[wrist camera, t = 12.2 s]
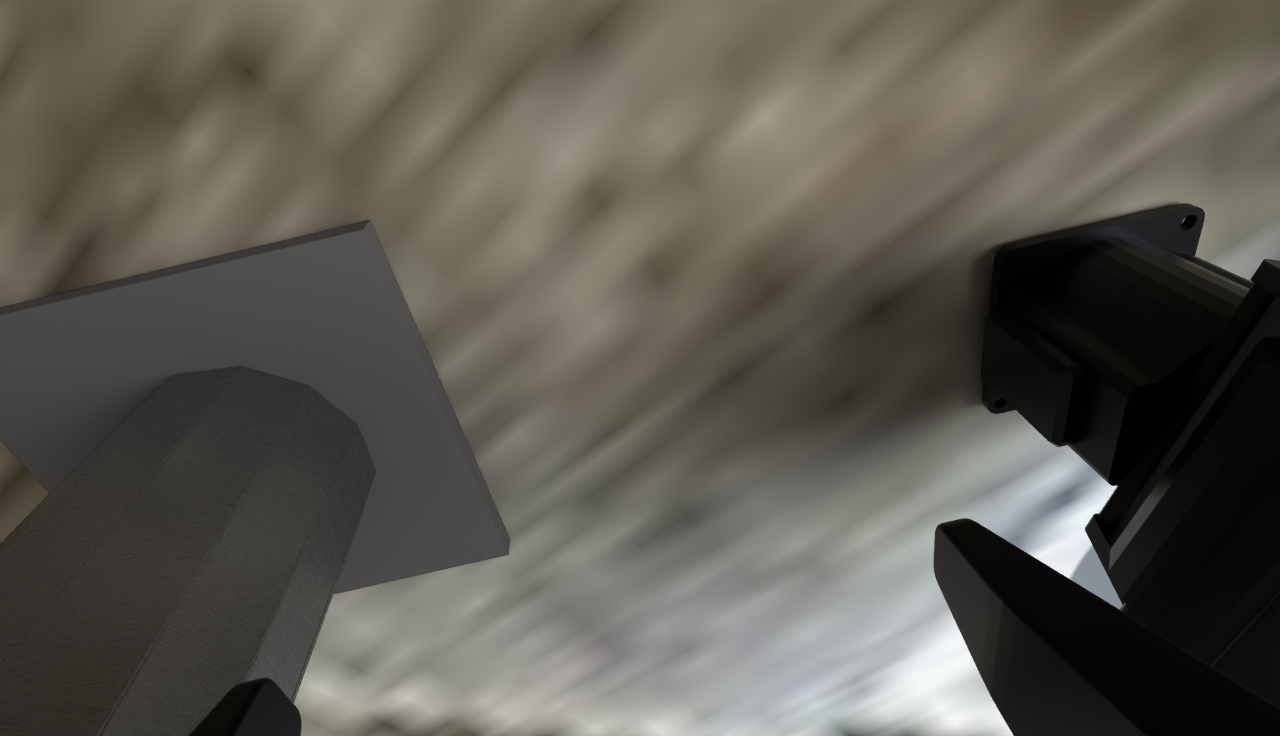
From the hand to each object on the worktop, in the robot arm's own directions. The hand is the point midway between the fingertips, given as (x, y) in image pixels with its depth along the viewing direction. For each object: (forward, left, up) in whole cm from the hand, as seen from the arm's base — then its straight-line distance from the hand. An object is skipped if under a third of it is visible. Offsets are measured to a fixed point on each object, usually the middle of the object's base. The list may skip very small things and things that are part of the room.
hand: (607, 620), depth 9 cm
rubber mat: (+12, +4, -13) cm, 18 cm away
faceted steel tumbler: (+12, +4, -12) cm, 18 cm away
